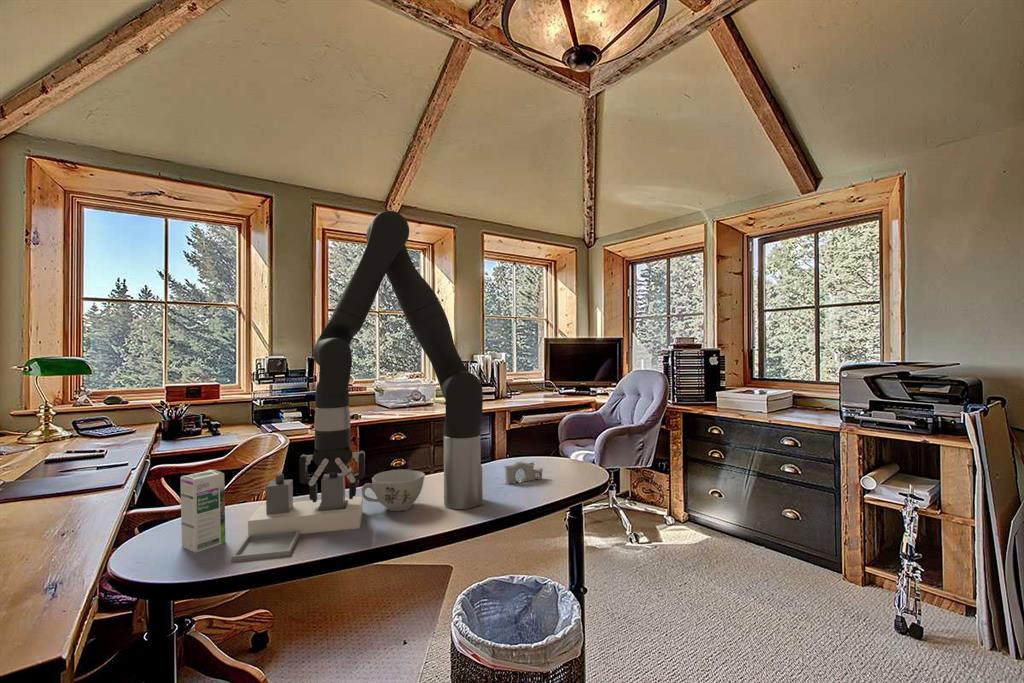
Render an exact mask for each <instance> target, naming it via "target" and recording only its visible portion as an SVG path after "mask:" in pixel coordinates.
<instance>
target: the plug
mask: <svg viewBox="0 0 1024 683" xmlns="http://www.w3.org/2000/svg"><path fill="white" fill-rule="evenodd" d="M320 480H321V481H320V485H321V486H320V491H321V496H320V498H321V499H320V500H321V511H329V510H341V509H345V498H346V476H345V474H344V473H343V472H330V473H324V474H323V476H322V477H321V479H320Z"/></svg>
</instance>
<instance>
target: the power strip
mask: <svg viewBox="0 0 1024 683" xmlns="http://www.w3.org/2000/svg"><path fill="white" fill-rule="evenodd" d="M284 475H285V474H284V473H277V474H276V475H275V480H271V481H269V483H268V484H267V485H266V487H265V498H266V499H265V503H264V504H260V506H258V508H257V509H256V511H255V512H254V513H252V515H251V516H250V517H249V519H248V521H247V535H256V534H267V533H277V532H288V531H298V530H300V535H302V534H311V533H312V534H314V533H323V532H334V531H342V530H343V531H344V530H345V531H346V530H354V529H356V530H357V529H360V528H361V522H362V517H363V512H364V511H363V508H364V507H363V499H364V498H363V496H362V495H361V496H353V499H349V496H348V497H345V509H341V510H329V511H321V499H317V502H313V500H304V501H303V500H301V501H294V496H293V495H294V492H293V491H294V484H293V483H294V480H293V479H285V476H284Z"/></svg>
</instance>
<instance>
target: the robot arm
mask: <svg viewBox="0 0 1024 683" xmlns="http://www.w3.org/2000/svg"><path fill="white" fill-rule="evenodd" d="M365 237H366V242H367V243H366V247H365V249H364V251H363V254H362V256H361V258H360V260H359V262H358V264H357V267H356V268H355V270H354V272H353V273H352V276H351V277H350V279H349V281H348V283H347V284H346V286H345V288H344V290H343V292H342V293H341V296H340V297H339V300H338V301H337V304H336V307H335V308H334V310H333V313H332V316H331V317H330V319H329V321H328V323H327V324H326V326H325V328H323V330H322V332H321V333H320V335H319V337H318V338H317V340H316V343H315V345H314V347H313V351H312V355H313V356H312V358H313V360H314V361H315V362H314V363H316V364H317V365H318V366H319V373H318V374H319V376H318V378H319V379H318V383H317V384H316V387H315V410H314V423H313V428H314V452H313V454H305V453H303V454H302V455H300V457H299V459H298V465H299V469H298V470H299V483H300V484H302V485H304V484H305V485H307V486H308V487H309V488H308V489H309V492H308V493H309V494H308V495H309V501H312V500H313V502H317V500H318V482H317V480H318V479H319V477H320V476H321V475H322V473H324V474H329V473H330V472H338V473H344V474H345V477H347V479H348V480H349V483H348V492H349V493H348V497H349V499H353V497H356V495H357V482H358V481H359V480H363V479H364V478H365V471H366V470H365V467H366V466H365V465H366V464H365V462H366V461H365V460H366V452H365V451H364V450H360V451H354V452H353V451H352V448H351V412H350V396H349V395H350V392H349V391H350V390H349V389H350V388H349V385H350V384H349V383H350V379H351V373H352V372H351V371H352V366H353V365H352V364H353V353H352V349H351V346H350V345H351V342H352V340H353V338H354V336H356V334H357V333H359V332H360V331H361V329H362V328H363V326H364V324H365V321H366V319H367V317H368V314H369V313H370V310H371V308H372V306H373V303H374V301H375V298H376V296H377V294H378V291H379V290H380V287H381V284H382V282H383V280H384V277H385V276H386V277H387V278H388V280H389V283H390V285H391V287H392V290H393V292H394V295H395V298H396V299H397V301H398V304H399V306H400V308H401V310H402V312H403V315H404V316H405V319H406V321H407V323H408V325H409V327H410V329H411V330H412V332H413V334H414V336H415V338H416V340H417V341H418V344H419V345H420V347H421V348H422V350H423V351H424V353H425V355H426V356H427V359H428V360H429V361H430V363H431V366H432V369H433V371H434V373H435V376H436V378H437V381H438V385H439V387H440V389H441V390H440V391H441V393H442V396H443V398H444V400H445V418H444V419H445V420H444V424H443V505H444V506H445V507H446V508H449V509H454V510H455V509H456V510H466V509H472V508H476V507H478V506H483V504H484V502H483V466H482V464H481V459H482V458H481V430H482V429H481V427H482V423H483V407H484V406H483V405H484V404H483V402H484V401H483V398H484V396H483V386H482V385H483V384H482V383H481V381H480V379H479V378H478V377H477V375H475V374H473V373H471V372H470V371H469V370H468V368H467V367H466V365H465V363H464V361H463V360H462V358H461V357H460V355H459V352H458V351H457V348H456V345H455V342H454V338H453V334H452V331H451V330H452V329H451V326H450V322H449V319H448V317H447V315H446V312H445V310H444V307H443V306H442V303H441V301H440V299H439V298H438V296H437V294H436V292H435V291H434V290H433V288H432V287H431V286H430V284H429V283H428V282H427V280H425V278H424V277H423V276H421V274H420V272H418V270H417V268H416V267H415V265H414V263H413V261H412V259H411V256H410V254H409V253H410V252H408V249H407V245H406V244H407V242H408V240H409V237H410V226H409V222H408V221H407V219H406V218H405V217H404V216H403V215H402V214H401V213H399V212H397V211H394V210H383V211H381V212H379V213H378V214H376V215H375V216H374V217H373V218H372V220H371V221H370V223H369V225H368V227H367V229H366V236H365ZM352 459H354V460H355V462H356V463H358V468H357V470H358V472H357V473H354V471H353V469H352V467H351V466H350V464H349V462H350V461H351V460H352ZM311 461H313V462H314V463H315V465H316V466H317V468H316V471H315V472H314V473H313V475H312V477H311V476H308V466H309V465H310V464H311Z"/></svg>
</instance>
